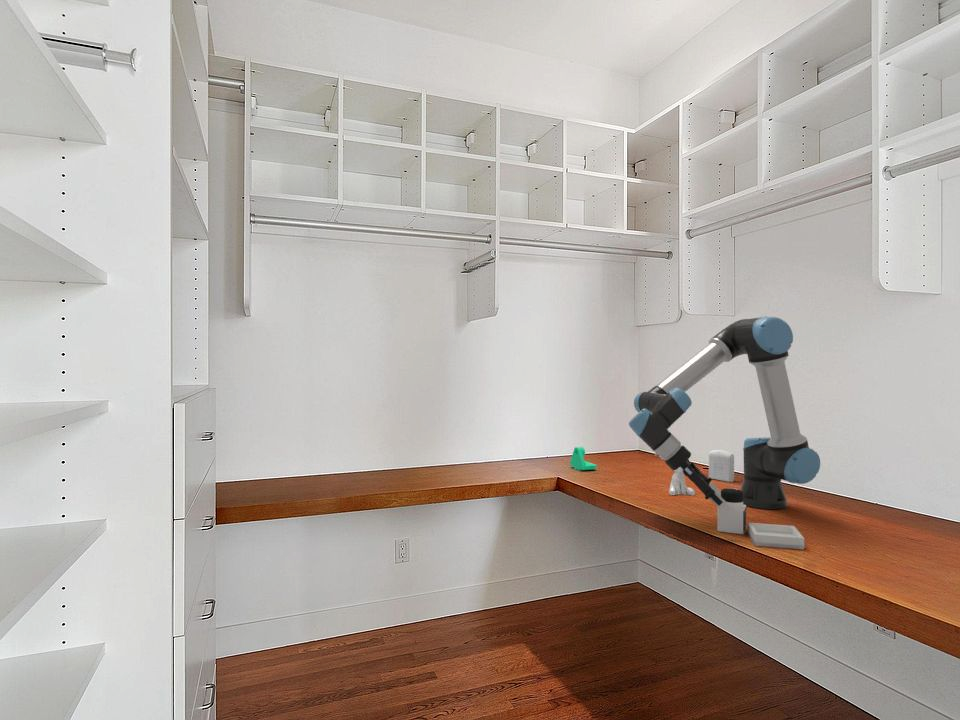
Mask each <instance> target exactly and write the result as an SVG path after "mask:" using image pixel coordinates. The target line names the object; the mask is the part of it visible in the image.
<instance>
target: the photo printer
mask: <svg viewBox="0 0 960 720" xmlns="http://www.w3.org/2000/svg"><path fill="white" fill-rule="evenodd" d="M708 478H711V479H712V480H717V481H721V482H722V481H723V482H727V483H733V482H734V480H735V455H734V453H732V452H730V451H727V450H724V449H713V450H710V451H709V453H708Z"/></svg>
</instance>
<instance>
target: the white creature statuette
mask: <svg viewBox="0 0 960 720" xmlns="http://www.w3.org/2000/svg"><path fill="white" fill-rule="evenodd" d="M673 471H674V473H673V474H672V476H671V481H670V483H669V484H670V485H669V490H668V492H669V495H670V496H672V495H673V496H676V495H677V494H678V495H677V496H679V495H682V496H683V495H684V496H685V495H686V496H687V495H689V496H695V495H696V490H694V489H693V488H692V487H690V486H688V485H687V484H686V477H685V475H684V473H683V469H682V468H681V467H679V468H678V469H676V470H673Z"/></svg>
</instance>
